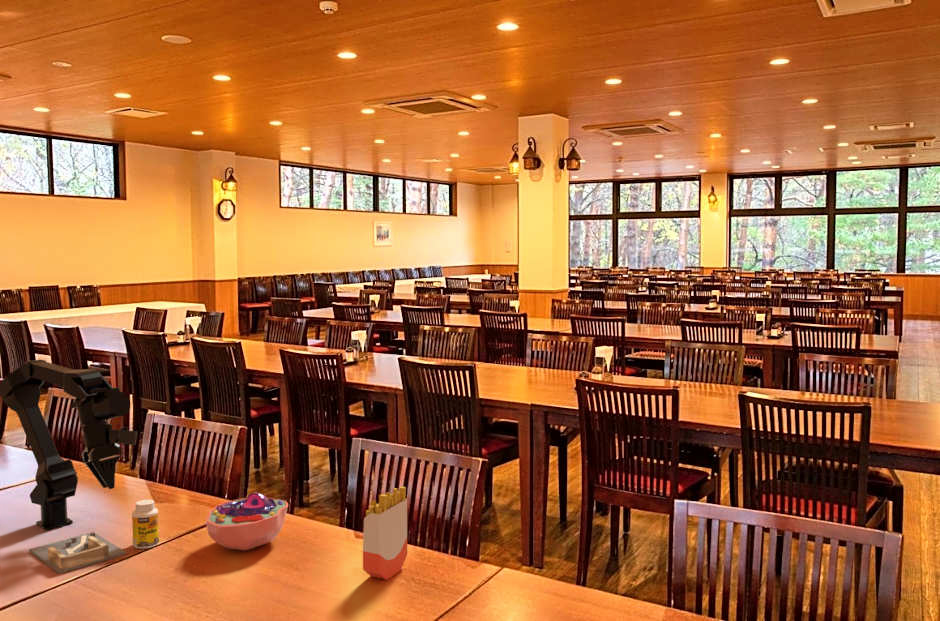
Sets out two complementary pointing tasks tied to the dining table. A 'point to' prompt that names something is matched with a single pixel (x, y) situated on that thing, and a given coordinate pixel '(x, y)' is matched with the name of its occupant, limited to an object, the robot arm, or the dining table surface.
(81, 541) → the board
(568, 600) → the dining table surface
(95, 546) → the end holder
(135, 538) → the supplement bottle
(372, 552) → the french fries container
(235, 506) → the cell model
